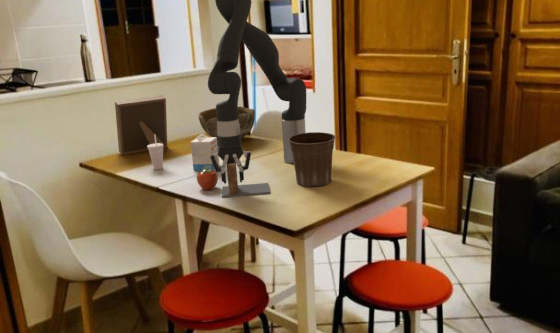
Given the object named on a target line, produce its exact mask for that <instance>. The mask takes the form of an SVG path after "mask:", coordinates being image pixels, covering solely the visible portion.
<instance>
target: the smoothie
mask: <svg viewBox="0 0 560 333" xmlns="http://www.w3.org/2000/svg"><path fill="white" fill-rule="evenodd" d="M154 138H155V144H150V145H148V146H147V147H148V149H149V150H148V153H149V157H150V160H151V164H152V167H153V170H162V169H163V168H164V166H163V165H164V161H163V160H164V158H163V157H164V156H163V155H164V153H163V144H161V143H156V135H155V134H154Z"/></svg>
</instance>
